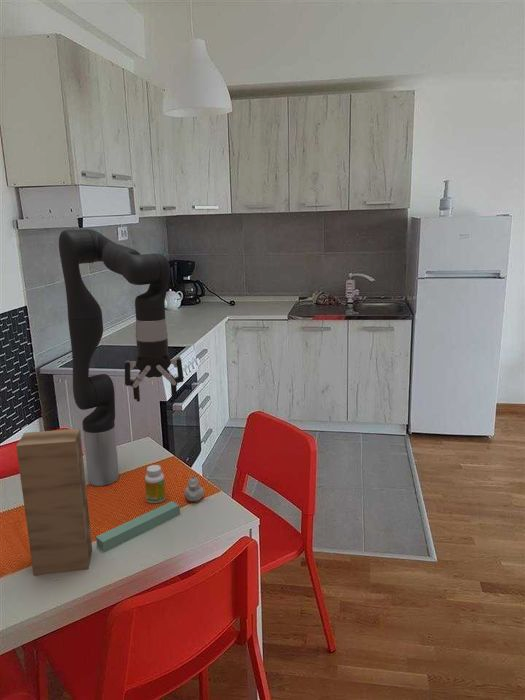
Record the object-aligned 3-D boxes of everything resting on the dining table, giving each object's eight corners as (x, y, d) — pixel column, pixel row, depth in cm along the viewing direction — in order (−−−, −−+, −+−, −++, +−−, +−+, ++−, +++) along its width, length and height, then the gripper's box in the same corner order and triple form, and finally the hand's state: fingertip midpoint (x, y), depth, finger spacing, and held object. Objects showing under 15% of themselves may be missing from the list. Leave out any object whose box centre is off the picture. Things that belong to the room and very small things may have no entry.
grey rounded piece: (183, 504, 149) (182, 479, 147) (187, 492, 155) (185, 467, 153) (202, 504, 149) (201, 479, 147) (205, 492, 155) (204, 467, 153)
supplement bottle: (161, 504, 149) (159, 473, 146) (143, 502, 150) (141, 471, 148) (168, 494, 154) (166, 464, 152) (150, 493, 155) (148, 462, 153)
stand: (40, 556, 127) (24, 432, 119) (92, 550, 129) (80, 428, 121) (33, 575, 120) (16, 445, 112) (88, 568, 122) (75, 441, 114)
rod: (97, 548, 130) (96, 536, 130) (172, 511, 146) (172, 500, 146) (103, 553, 128) (102, 542, 127) (179, 515, 144) (179, 505, 143)
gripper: (180, 332, 134) (183, 392, 138) (122, 334, 131) (127, 396, 136) (181, 338, 127) (184, 402, 131) (120, 341, 124) (125, 406, 128)
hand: (155, 399), depth 133 cm, fingers open, 8 cm apart
